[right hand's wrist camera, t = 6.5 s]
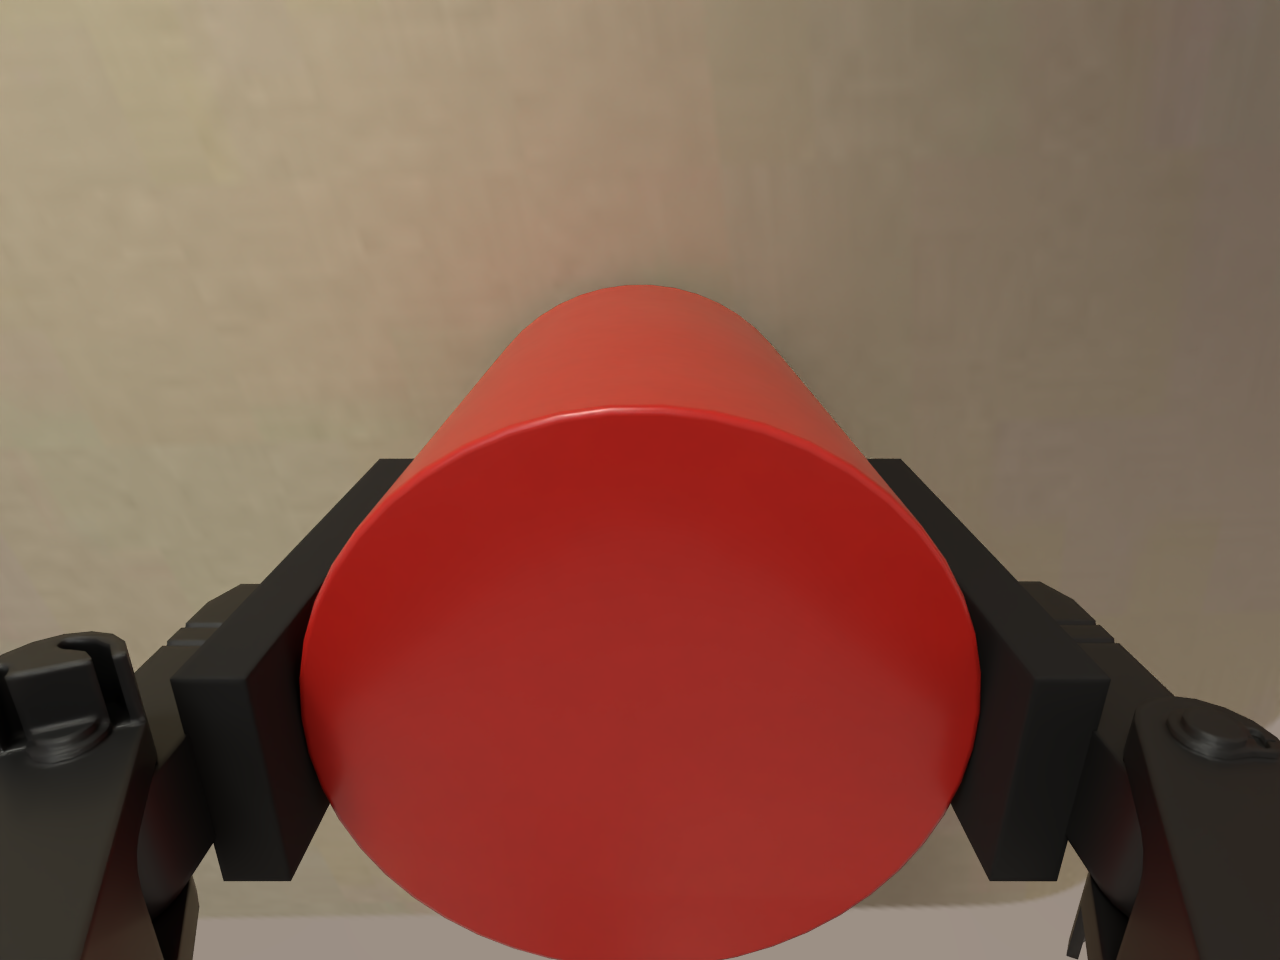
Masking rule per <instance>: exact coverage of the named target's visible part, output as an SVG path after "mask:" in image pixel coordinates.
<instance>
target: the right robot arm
mask: <svg viewBox="0 0 1280 960" xmlns="http://www.w3.org/2000/svg"><path fill="white" fill-rule="evenodd" d="M413 460H414V459H379V460H378V461H377V462H376V463H375V464H374V466H373V467H372V468H371V469H370V470H369V471H368V472H367V473H366V474H365V475H364V476H363V477H362V478H361V479H360V480H359V481H358V482H357V483H356V484H355V485H354V486H353V488H352V489H351V490H350V491H349V492H348V493H347V494H346V495H345V496H344V497H343V498H342V499H341V500H340V501H339V502H338V503H337V504H336V505H335V506H334V507H333V508H332V509H331V511H330V512H329V513H328V514H327V515H326V516H325V517H324V518H323V519H322V520H321V521H320V522H319V523H318V524H317V525H316V526H315V527H314V528H313V529H312V530H311V531H310V532H309V534H308V535H307V536H306V537H305V538H304V539H303V540H302V541H301V542H300V543H299V544H298V545H297V546H296V547H295V548H294V549H293V550H292V551H291V552H290V553H289V554H288V556H287V557H286V558H285V559H284V560H283V561H282V562H281V563H280V564H279V565H278V566H277V567H276V568H275V569H274V570H273V571H272V572H271V573H270V574H269V575H268V576H267V577H266V579H265V580H264V581H263V582H262V583H261V584H240V585H238V586H237V587H235V588H233V589H231V590H229V591H227V592H226V593H224V594H222V595H220V596H218V597H217V598H215V599H213V600H211V601H209V602H208V603H207V604H206V605H205V606H203V607H202V608H201V609H200V610H199V611H198V612H197V613H196V614H195V615H194V616H193V617H192V618H191V619H190V620H189V621H188V622H187V623H186V627H185V628H181V629H180V630H179V631H177V632H176V633H175V634H174V635H173V636H172V637H171V638H170V639H169V640H168V641H167V646H162V647H161V648H160V649H159V650H158V651H157V652H156V653H155V654H154V655H153V656H151V657H150V658H149V659H148V660H147V661H146V662H145V663H144V664H143V665H142V666H141V667H140V668H139V669H138V670H137V671H136V672H135V673H134V671H133V667H132V664H131V660H130V657H129V653H128V650H127V646H126V643H125V641H124V640H122V639H120V638H119V637H117V636H116V635H114V634H110V633H101V632H93V631H91V632H81V633H71V634H63V635H59V636H55V637H51V638H47V639H43V640H39V641H35V642H32V643H29V644H27V645H24V646H22V647H20V648H17V649H15V650H12V651H10V652H7V653H5V654H2V655H1V656H0V960H192V959H193V951H194V943H195V936H196V928H197V920H198V912H199V902H198V895H197V890H196V886H195V883H194V879H193V876H192V875H193V873H194V872H195V870H196V868H197V867H198V865H199V864H200V862H201V861H202V859H203V858H204V856H205V855H206V853H207V852H208V850H209V848H210V847H211V845H212V844H213V843H214V847H215V850H216V854H217V858H218V862H219V865H220V869H221V873H222V876H223V880H224V881H291V880H292V878H293V876H294V874H295V872H296V870H297V868H298V866H299V864H300V862H301V860H302V858H303V856H304V854H305V852H306V850H307V848H308V846H309V844H310V842H311V840H312V838H313V836H314V834H315V832H316V830H317V828H318V826H319V824H320V822H321V820H322V818H323V816H324V814H325V812H326V810H327V808H328V806H329V804H330V802H329V800H328V798H327V797H326V795H325V793H324V791H323V789H322V787H321V785H320V782H319V779H318V777H317V774H316V771H315V769H314V766H313V763H312V761H311V758H310V755H309V752H308V747H307V743H306V738H305V733H304V728H303V724H302V719H301V702H300V681H299V677H300V668H301V659H302V650H303V641H304V637H305V633H306V630H307V626H308V622H309V619H310V615H311V612H312V608H313V605H314V601H315V599H316V597H317V595H318V593H319V591H320V589H321V586H322V584H323V582H324V580H325V578H326V576H327V574H328V572H329V569H330V567H331V565H332V564H333V562H334V561H335V559H336V558H337V556H338V555H339V553H340V552H341V550H342V549H343V547H344V546H345V544H346V543H347V541H348V540H349V539H350V537H351V536H352V534H353V533H354V531H355V530H356V529H357V527H358V526H359V525H360V524H361V522H362V521H363V520H364V519H365V518H366V516H367V515H368V514H369V513H370V512H371V510H372V509H373V508H374V507H375V506H376V504H377V503H378V502H379V501H380V500H381V498H382V497H383V496H384V495H385V494H386V492H387V491H388V490H389V489H390V488H391V486H392V485H393V484H394V483H395V482H396V480H397V479H398V478H399V477H400V475H401V474H402V473H403V472H404V471H405V469H406V468H407V467H408V466H409V465H410V463H411V462H412V461H413ZM867 460H868V462H869V463H870V464H871V465H872V466H873V468H874V469H875V470H876V471H877V472H878V474H879V475H880V476H881V477H882V478H883V480H884V481H885V482H886V483H887V484H888V486H889V487H890V488H891V489H892V490H893V492H894V493H895V494H896V495H897V496H898V498H899V499H900V500H901V501H902V502H903V504H904V505H905V506H906V507H907V509H908V510H909V511H910V512H911V513H912V515H913V516H914V517H915V518H916V519H917V521H918V522H919V523H920V524H921V525H922V527H923V528H924V530H925V531H926V532H927V534H928V535H929V537H930V538H931V539H932V541H933V542H934V544H935V545H936V546H937V548H938V549H939V551H940V552H941V554H942V555H943V556H944V558H945V559H946V561H947V563H948V565H949V567H950V569H951V571H952V573H953V575H954V577H955V579H956V581H957V583H958V585H959V587H960V589H961V591H962V593H963V595H964V598H965V601H966V604H967V607H968V611H969V614H970V617H971V620H972V624H973V627H974V630H975V633H976V640H977V647H978V655H979V662H980V669H981V687H980V714H979V720H978V725H977V731H976V736H975V741H974V747H973V750H972V753H971V756H970V759H969V762H968V765H967V767H966V770H965V773H964V776H963V779H962V782H961V784H960V786H959V788H958V790H957V792H956V793H955V795H954V797H953V799H952V801H951V805H952V807H953V809H954V811H955V813H956V815H957V817H958V819H959V821H960V823H961V825H962V827H963V829H964V831H965V833H966V835H967V837H968V839H969V841H970V843H971V845H972V847H973V849H974V851H975V853H976V855H977V857H978V859H979V861H980V863H981V865H982V867H983V869H984V871H985V873H986V875H987V877H988V879H989V881H1057V879H1058V875H1059V871H1060V867H1061V864H1062V860H1063V856H1064V853H1065V849H1066V845H1067V841H1069V842H1070V844H1071V845H1072V847H1073V848H1074V850H1075V851H1076V853H1077V854H1078V856H1079V857H1080V859H1081V860H1082V862H1083V864H1084V865H1085V867H1086V868H1087V870H1088V871H1089V872H1088V876H1087V879H1086V883H1085V886H1084V890H1083V893H1082V897H1081V900H1080V904H1079V907H1078V911H1077V914H1076V918H1075V921H1074V925H1073V928H1072V931H1071V935H1070V939H1069V944H1068V950H1067V956H1069V957H1072V958H1075V959H1078V957H1079V954H1080V950H1081V947H1082V944H1083V942H1085V941H1086V949H1087V956H1088V960H1280V741H1279V739H1278V738H1277V737H1275V736H1274V735H1273V734H1271V733H1270V732H1268V731H1267V730H1265V729H1264V728H1263V727H1261V726H1260V725H1258V724H1257V723H1255V722H1254V721H1252V720H1250V719H1248V718H1246V717H1244V716H1242V715H1239V714H1237V713H1235V712H1233V711H1231V710H1229V709H1227V708H1224V707H1221V706H1218V705H1214V704H1211V703H1207V702H1204V701H1201V700H1197V699H1191V698H1183V697H1175V696H1174V695H1173V694H1172V693H1171V692H1170V691H1169V690H1167V689H1166V688H1165V687H1164V686H1163V685H1162V684H1161V683H1160V682H1159V681H1158V680H1157V679H1156V678H1155V677H1154V676H1153V675H1152V674H1151V673H1150V672H1149V671H1148V670H1147V669H1145V668H1144V667H1143V666H1142V665H1141V664H1140V663H1139V662H1138V661H1137V660H1136V659H1135V658H1134V657H1133V656H1132V655H1131V654H1130V653H1129V652H1128V651H1127V650H1126V649H1124V648H1123V647H1122V646H1121V645H1120V644H1119V643H1114V638H1113V637H1112V636H1111V635H1110V634H1109V633H1108V632H1107V631H1106V630H1105V629H1104V628H1102V627H1101V626H1100V625H1096V623H1095V622H1096V621H1095V620H1094V619H1093V618H1092V617H1091V616H1090V615H1089V614H1088V613H1087V612H1086V611H1085V610H1084V609H1083V608H1082V607H1080V606H1079V605H1078V604H1077V603H1076V602H1075V601H1074V600H1073V599H1071V598H1069V597H1067V596H1066V595H1064V594H1062V593H1060V592H1058V591H1056V590H1055V589H1053V588H1051V587H1049V586H1047V585H1045V584H1044V583H1042V582H1018V581H1017V580H1016V579H1015V578H1014V577H1013V576H1012V575H1011V574H1010V573H1009V572H1008V571H1007V570H1006V569H1005V567H1004V566H1003V565H1002V564H1001V563H1000V562H999V561H998V560H997V559H996V558H995V557H994V556H993V555H992V554H991V553H990V552H989V551H988V550H987V549H986V548H985V547H984V546H983V544H982V543H981V542H980V541H979V540H978V539H977V538H976V537H975V536H974V535H973V534H972V533H971V532H970V531H969V530H968V529H967V528H966V527H965V526H964V525H963V524H962V523H961V521H960V520H959V519H958V518H957V517H956V516H955V515H954V514H953V513H952V512H951V511H950V510H949V509H948V508H947V507H946V506H945V505H944V504H943V503H942V502H941V501H940V499H939V498H938V497H937V496H936V495H935V494H934V493H933V492H932V491H931V490H930V489H929V488H928V487H927V486H926V485H925V484H924V483H923V482H922V481H921V480H920V479H919V478H918V476H917V475H916V474H915V473H914V472H913V471H912V470H911V469H910V468H909V467H908V466H907V465H906V464H905V463H904V462H903V461H902V460H901V459H867Z"/></svg>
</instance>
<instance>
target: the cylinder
mask: <svg viewBox="0 0 1280 960" xmlns="http://www.w3.org/2000/svg"><path fill="white" fill-rule="evenodd" d="M299 681H300V702H301V719H302V724H303V728H304V733H305V738H306V743H307V747H308V752H309V755H310V758H311V761H312V763H313V766H314V769H315V771H316V774H317V777H318V779H319V782H320V785H321V787H322V789H323V791H324V793H325V795H326V797H327V798H328V800H329V802H330V804H331V806H332V808H333V809H334V811H335V813H336V815H337V817H338V818H339V820H340V821H341V823H342V824H343V825H344V827H345V828H346V829H347V831H348V832H349V833H350V835H351V836H352V838H353V839H354V840H355V842H356V843H357V844H358V846H359V847H360V848H361V849H362V850H363V851H364V852H365V853H366V855H367V856H368V857H369V858H370V859H371V860H372V861H373V862H374V863H375V864H376V865H377V866H378V867H379V868H380V869H381V870H382V871H383V872H384V873H385V874H386V875H387V876H388V877H389V878H391V879H392V880H393V881H394V882H395V883H397V884H398V885H399V886H400V887H401V888H403V889H404V890H405V891H406V892H408V893H409V894H410V895H411V896H412V897H414V898H415V899H417V900H418V901H420V902H421V903H423V904H424V905H426V906H427V907H429V908H431V909H432V910H434V911H435V912H437V913H438V914H440V915H441V916H443V917H444V918H446V919H448V920H450V921H452V922H454V923H456V924H458V925H460V926H462V927H464V928H466V929H468V930H470V931H472V932H474V933H476V934H478V935H480V936H483V937H486V938H488V939H491V940H493V941H496V942H498V943H501V944H504V945H506V946H509V947H512V948H514V949H518V950H522V951H525V952H529V953H532V954H536V955H540V956H543V957H547V958H551V959H557V960H723V959H729V958H734V957H738V956H742V955H745V954H748V953H752V952H755V951H758V950H762V949H765V948H769V947H772V946H775V945H777V944H780V943H782V942H785V941H787V940H790V939H792V938H795V937H797V936H799V935H802V934H805V933H807V932H809V931H811V930H813V929H815V928H817V927H819V926H820V925H822V924H824V923H826V922H828V921H830V920H832V919H834V918H836V917H838V916H839V915H841V914H843V913H844V912H846V911H847V910H849V909H850V908H852V907H853V906H855V905H856V904H857V903H859V902H860V901H862V900H863V899H865V898H866V897H868V896H869V895H871V894H872V893H873V892H874V891H876V890H877V889H878V888H879V887H880V886H881V885H883V884H884V883H885V882H886V881H887V880H889V879H890V878H891V877H892V876H893V875H894V874H896V873H897V872H898V871H899V870H900V869H901V868H902V867H903V866H904V865H905V864H906V862H907V861H908V860H909V859H910V858H911V857H912V856H913V855H914V854H915V853H916V852H917V851H918V849H919V848H920V847H921V846H922V845H923V844H924V843H925V841H926V840H927V838H928V837H929V836H930V834H931V833H932V831H933V830H934V829H935V827H936V826H937V824H938V823H939V822H940V820H941V819H942V817H943V816H944V815H945V813H946V811H947V809H948V807H949V805H950V803H951V801H952V799H953V797H954V795H955V793H956V792H957V790H958V788H959V786H960V784H961V782H962V779H963V776H964V773H965V770H966V767H967V765H968V762H969V759H970V756H971V753H972V750H973V747H974V741H975V736H976V731H977V725H978V720H979V714H980V687H981V669H980V662H979V655H978V647H977V640H976V633H975V630H974V627H973V624H972V620H971V617H970V614H969V611H968V607H967V604H966V601H965V598H964V595H963V593H962V591H961V589H960V587H959V585H958V583H957V581H956V579H955V577H954V575H953V573H952V571H951V569H950V567H949V565H948V563H947V561H946V559H945V558H944V556H943V555H942V554H941V552H940V551H939V549H938V548H937V546H936V545H935V544H934V542H933V541H932V539H931V538H930V537H929V535H928V534H927V532H926V531H925V530H924V528H923V527H922V525H921V524H920V523H919V522H918V521H917V519H916V518H915V517H914V516H913V515H912V513H911V512H910V511H909V510H908V509H907V507H906V506H905V505H904V504H903V502H902V501H901V500H900V499H899V498H898V496H897V495H896V494H895V493H894V492H893V490H892V489H891V488H890V487H889V486H888V484H887V483H886V482H885V481H884V480H883V478H882V477H881V476H880V475H879V474H878V472H877V471H876V470H875V469H874V468H873V466H872V465H871V464H870V463H869V462H868V460H867V459H866V458H865V457H864V456H863V454H862V453H861V452H860V451H859V450H858V448H857V447H856V446H855V445H854V444H853V442H852V441H851V440H850V439H849V438H848V436H847V435H846V434H845V433H844V432H843V430H842V429H841V428H840V427H839V426H838V424H837V423H836V422H835V421H834V420H833V418H832V417H831V416H830V415H829V413H828V412H827V411H826V410H825V409H824V407H823V406H822V405H821V404H820V403H819V401H818V400H817V399H816V398H815V397H814V395H813V394H812V393H811V392H810V391H809V389H808V388H807V387H806V386H805V385H804V383H803V382H802V381H801V380H800V379H799V377H798V376H797V375H796V374H795V373H794V371H793V370H792V369H791V368H790V367H789V365H788V364H787V363H786V362H785V361H784V359H783V358H782V357H781V356H780V355H779V353H778V352H777V351H776V350H775V349H774V347H773V346H772V345H771V344H770V343H769V342H768V341H767V340H766V339H765V338H764V337H763V336H762V335H761V333H760V332H759V331H758V330H757V329H756V328H754V327H753V326H752V325H751V324H749V323H748V322H747V321H746V320H744V319H743V318H742V317H740V316H739V315H738V314H736V313H734V312H733V311H731V310H729V309H728V308H726V307H724V306H723V305H721V304H719V303H717V302H715V301H712V300H710V299H707V298H705V297H703V296H700V295H698V294H695V293H691V292H687V291H684V290H680V289H676V288H670V287H662V286H654V285H625V286H618V287H611V288H604V289H600V290H597V291H593V292H590V293H586V294H583V295H580V296H577V297H575V298H573V299H571V300H568V301H566V302H564V303H561V304H559V305H558V306H556V307H554V308H553V309H551V310H549V311H548V312H546V313H544V314H543V315H541V316H540V317H538V318H537V319H536V320H535V321H533V322H532V323H531V324H530V325H529V326H527V327H526V328H525V329H524V330H523V331H521V333H520V334H519V335H518V336H517V337H516V338H515V339H514V340H513V341H512V342H511V343H510V344H509V346H508V347H507V348H506V349H505V350H504V351H503V353H502V354H501V355H500V356H499V357H498V359H497V360H496V361H495V362H494V363H493V365H492V366H491V367H490V368H489V369H488V371H487V372H486V373H485V374H484V375H483V377H482V378H481V379H480V380H479V382H478V383H477V384H476V385H475V386H474V388H473V389H472V390H471V391H470V392H469V394H468V395H467V396H466V397H465V398H464V400H463V401H462V402H461V403H460V404H459V406H458V407H457V408H456V409H455V410H454V412H453V413H452V414H451V415H450V416H449V418H448V419H447V420H446V421H445V422H444V424H443V425H442V426H441V427H440V429H439V430H438V431H437V432H436V433H435V435H434V436H433V437H432V438H431V439H430V441H429V442H428V443H427V444H426V445H425V447H424V448H423V449H422V450H421V451H420V453H419V454H418V455H417V456H416V457H415V459H414V460H413V461H412V462H411V463H410V465H409V466H408V467H407V468H406V469H405V471H404V472H403V473H402V474H401V475H400V477H399V478H398V479H397V480H396V482H395V483H394V484H393V485H392V486H391V488H390V489H389V490H388V491H387V492H386V494H385V495H384V496H383V497H382V498H381V500H380V501H379V502H378V503H377V504H376V506H375V507H374V508H373V509H372V510H371V512H370V513H369V514H368V515H367V516H366V518H365V519H364V520H363V521H362V522H361V524H360V525H359V526H358V527H357V529H356V530H355V531H354V533H353V534H352V536H351V537H350V539H349V540H348V541H347V543H346V544H345V546H344V547H343V549H342V550H341V552H340V553H339V555H338V556H337V558H336V559H335V561H334V562H333V564H332V565H331V567H330V569H329V572H328V574H327V576H326V578H325V580H324V582H323V584H322V586H321V589H320V591H319V593H318V595H317V597H316V599H315V601H314V605H313V608H312V612H311V615H310V619H309V622H308V626H307V630H306V633H305V637H304V641H303V650H302V659H301V668H300V677H299Z"/></svg>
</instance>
